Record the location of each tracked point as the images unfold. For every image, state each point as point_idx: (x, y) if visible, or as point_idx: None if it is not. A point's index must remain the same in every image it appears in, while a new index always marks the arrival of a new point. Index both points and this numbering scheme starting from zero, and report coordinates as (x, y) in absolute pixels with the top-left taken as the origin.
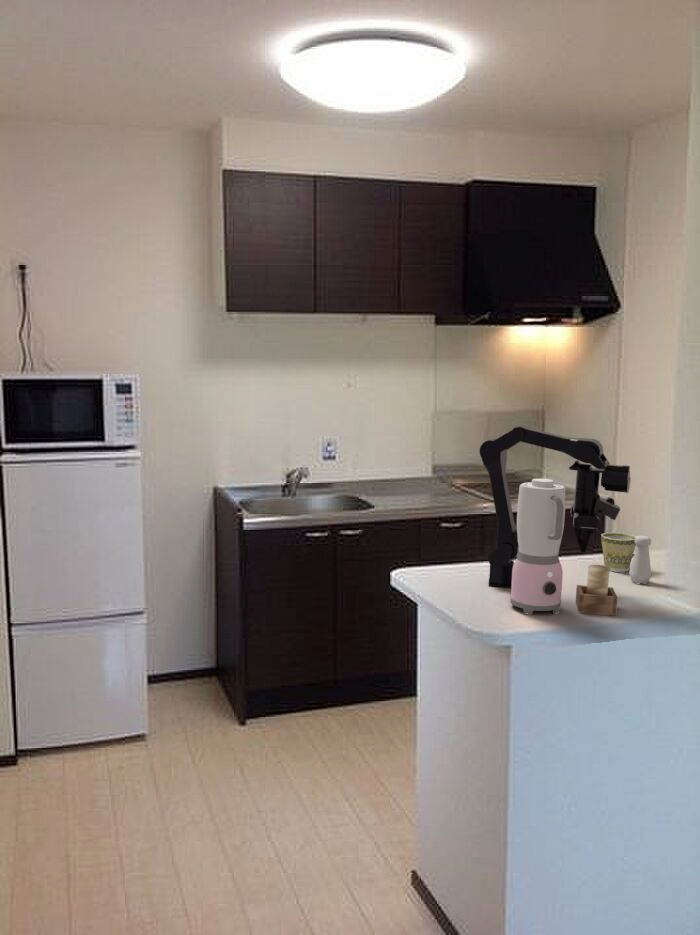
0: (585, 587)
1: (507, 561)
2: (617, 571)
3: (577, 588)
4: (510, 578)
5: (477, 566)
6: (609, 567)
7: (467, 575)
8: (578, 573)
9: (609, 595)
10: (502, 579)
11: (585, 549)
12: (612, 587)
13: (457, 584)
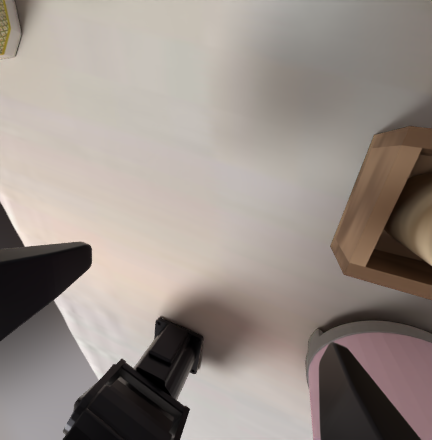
0: (371, 248)
1: (184, 422)
2: (17, 23)
3: (383, 284)
4: (184, 350)
5: (79, 328)
6: (6, 45)
7: None
8: (63, 147)
9: (423, 151)
10: (191, 365)
11: (364, 373)
12: (408, 127)
13: (190, 407)
